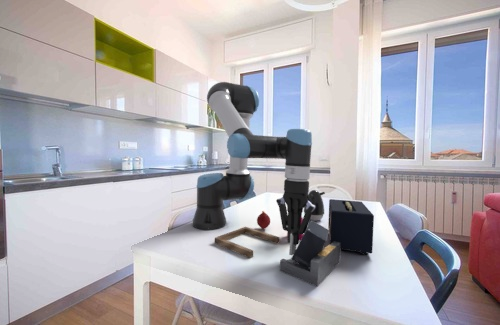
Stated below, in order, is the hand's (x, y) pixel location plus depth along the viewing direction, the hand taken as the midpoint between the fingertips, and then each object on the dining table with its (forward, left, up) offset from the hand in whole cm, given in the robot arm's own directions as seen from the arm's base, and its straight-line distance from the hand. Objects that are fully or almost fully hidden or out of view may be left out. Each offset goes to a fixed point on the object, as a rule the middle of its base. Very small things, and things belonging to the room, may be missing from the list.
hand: (292, 253), depth 69 cm
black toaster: (+9, +26, -2) cm, 27 cm away
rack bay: (+7, 0, -2) cm, 7 cm away
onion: (-23, +16, -2) cm, 28 cm away
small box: (+4, 0, -1) cm, 4 cm away
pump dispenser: (-13, +46, -2) cm, 47 cm away
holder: (-19, 0, -2) cm, 19 cm away
